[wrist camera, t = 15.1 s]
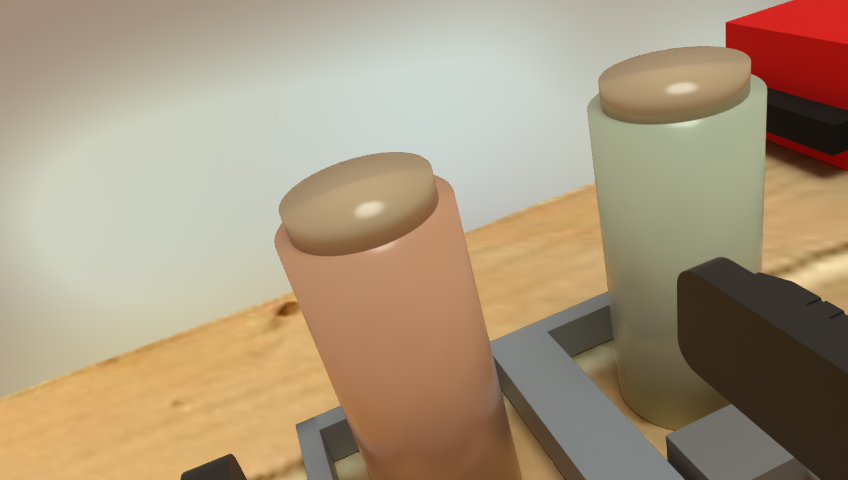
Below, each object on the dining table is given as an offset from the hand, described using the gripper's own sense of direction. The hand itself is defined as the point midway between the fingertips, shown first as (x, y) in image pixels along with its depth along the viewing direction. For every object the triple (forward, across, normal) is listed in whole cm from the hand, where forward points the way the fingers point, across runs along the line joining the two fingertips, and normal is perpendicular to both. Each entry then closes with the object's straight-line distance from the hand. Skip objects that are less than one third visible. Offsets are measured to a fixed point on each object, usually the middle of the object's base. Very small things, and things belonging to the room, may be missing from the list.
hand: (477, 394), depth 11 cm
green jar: (+11, -13, +15) cm, 22 cm away
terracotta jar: (+11, -1, +15) cm, 19 cm away
